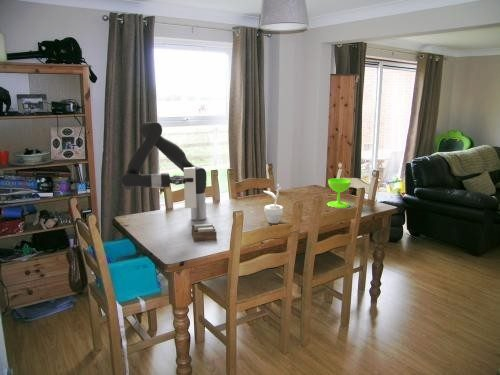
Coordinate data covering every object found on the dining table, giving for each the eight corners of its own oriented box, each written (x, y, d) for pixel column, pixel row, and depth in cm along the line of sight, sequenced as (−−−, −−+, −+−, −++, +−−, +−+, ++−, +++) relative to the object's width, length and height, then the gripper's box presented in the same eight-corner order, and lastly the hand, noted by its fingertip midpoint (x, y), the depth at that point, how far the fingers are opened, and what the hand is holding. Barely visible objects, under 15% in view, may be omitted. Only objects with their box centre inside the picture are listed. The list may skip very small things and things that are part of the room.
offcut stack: (194, 233, 214) (194, 224, 213) (212, 232, 217) (212, 223, 216) (195, 237, 208) (195, 228, 207) (214, 236, 211) (214, 227, 209)
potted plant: (285, 220, 243) (286, 181, 238) (279, 226, 233) (280, 185, 227) (266, 218, 248) (266, 180, 242) (259, 223, 238) (260, 183, 232)
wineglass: (322, 203, 281) (323, 179, 277) (340, 201, 288) (341, 177, 284) (335, 209, 267) (337, 184, 263) (354, 206, 274) (356, 182, 270)
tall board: (184, 207, 214) (183, 167, 209) (195, 206, 215) (194, 167, 210) (185, 208, 212) (183, 168, 207) (196, 207, 213) (195, 168, 208)
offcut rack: (191, 233, 220) (191, 225, 219) (212, 231, 223) (212, 223, 222) (194, 242, 207) (194, 233, 206) (216, 240, 210) (216, 231, 209)
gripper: (160, 176, 199) (194, 175, 203) (159, 171, 212) (191, 170, 216) (160, 190, 200) (194, 189, 205) (160, 184, 214) (191, 183, 218)
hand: (192, 179), depth 210 cm, fingers closed on tall board, 2 cm apart
